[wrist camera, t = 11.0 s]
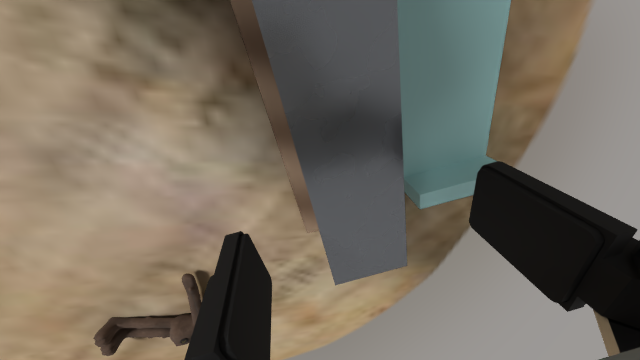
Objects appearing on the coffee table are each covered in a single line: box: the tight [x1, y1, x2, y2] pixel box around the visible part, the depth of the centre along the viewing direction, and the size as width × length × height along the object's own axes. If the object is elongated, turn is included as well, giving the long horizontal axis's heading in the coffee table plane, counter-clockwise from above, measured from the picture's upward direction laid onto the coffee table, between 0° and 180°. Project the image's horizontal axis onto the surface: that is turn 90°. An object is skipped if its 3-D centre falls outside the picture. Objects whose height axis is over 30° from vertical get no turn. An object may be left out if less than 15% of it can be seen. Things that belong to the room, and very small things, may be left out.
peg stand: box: [230, 0, 319, 233], centre depth 16 cm, size 20×8×6 cm, turn 12°
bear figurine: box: [94, 274, 202, 356], centre depth 26 cm, size 18×4×14 cm
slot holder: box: [397, 0, 511, 209], centre depth 16 cm, size 20×8×4 cm, turn 12°
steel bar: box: [252, 0, 407, 285], centre depth 12 cm, size 14×4×4 cm, turn 12°
